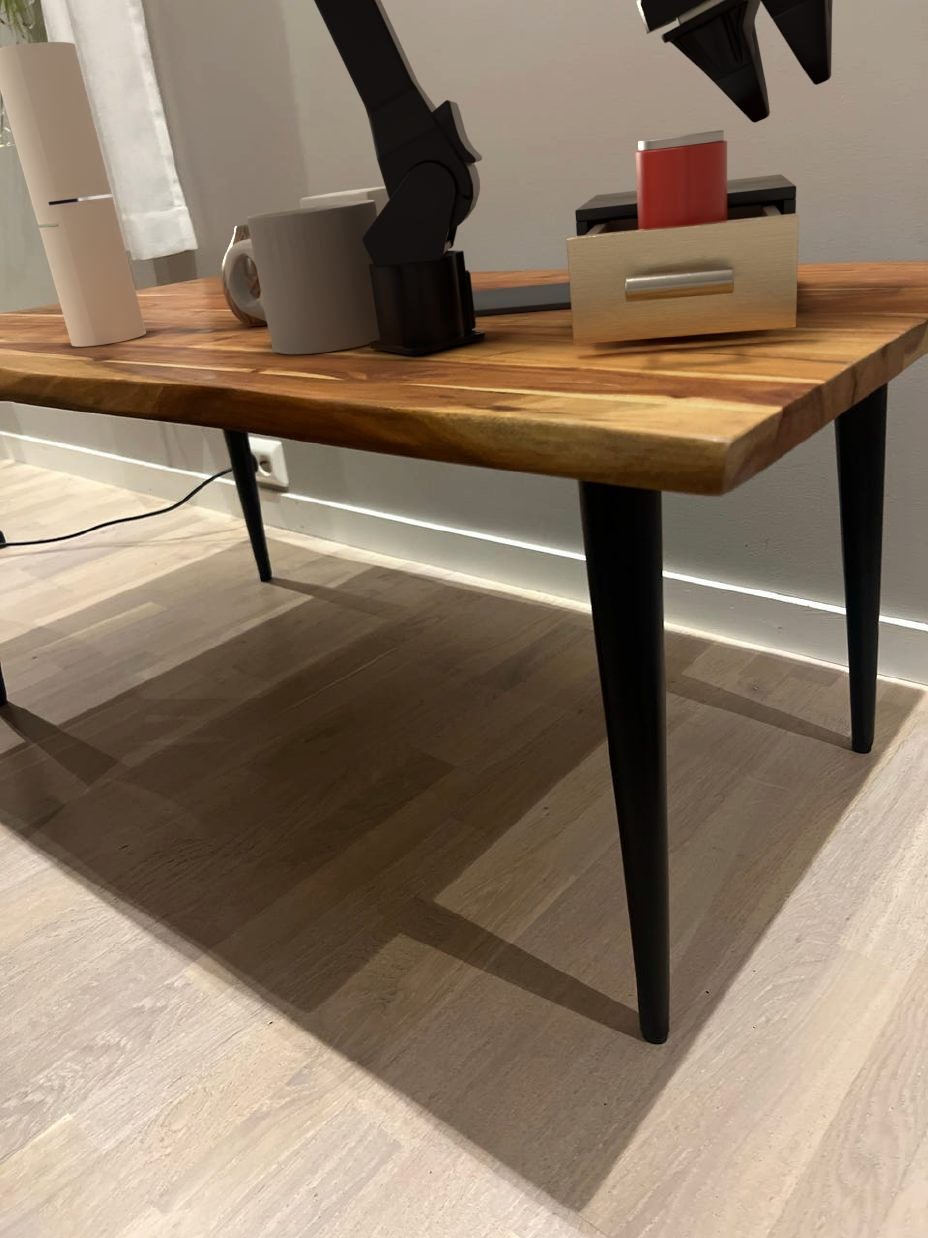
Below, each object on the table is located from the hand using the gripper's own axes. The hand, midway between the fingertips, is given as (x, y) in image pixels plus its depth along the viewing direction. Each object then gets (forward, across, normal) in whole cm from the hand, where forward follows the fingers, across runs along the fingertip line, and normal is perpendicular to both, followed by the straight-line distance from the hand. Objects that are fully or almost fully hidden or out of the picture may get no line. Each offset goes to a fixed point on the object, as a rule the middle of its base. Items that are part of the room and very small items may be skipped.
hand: (793, 99), depth 65 cm
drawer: (+9, -12, +5) cm, 16 cm away
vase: (-1, -11, +50) cm, 51 cm away
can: (+8, -11, +6) cm, 15 cm away
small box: (+2, -5, +42) cm, 43 cm away
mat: (+6, -1, +29) cm, 29 cm away
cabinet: (+10, -1, +12) cm, 16 cm away
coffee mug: (+2, -18, +35) cm, 39 cm away
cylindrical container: (-6, -20, +62) cm, 66 cm away
